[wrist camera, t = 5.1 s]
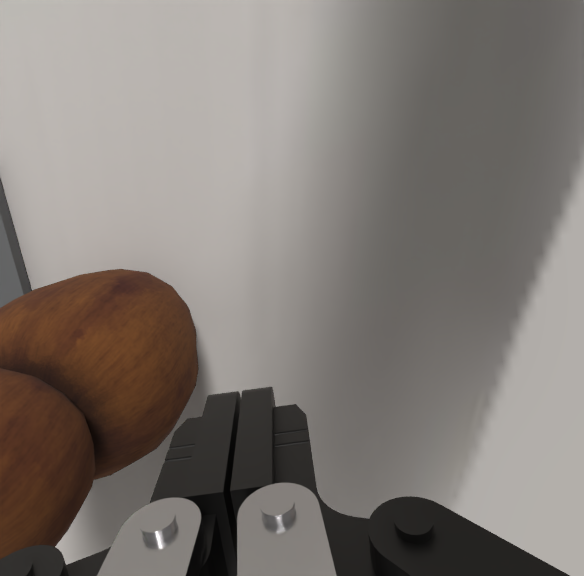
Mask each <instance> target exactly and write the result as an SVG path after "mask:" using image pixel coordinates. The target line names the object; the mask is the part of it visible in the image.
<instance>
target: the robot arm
mask: <svg viewBox="0 0 584 576" xmlns="http://www.w3.org/2000/svg"><path fill="white" fill-rule="evenodd" d="M169 448H170V450H168V453H167V456H166V458H165V463H164V464H163V467H162V470H161V473H160V475H159V478H158V481H157V484H156V487H155V490H154V492H153V495H152V498H151V501H150V504H148V505H146V506H144V507H142V508H140V509H139V510H137V511H136V512H135V513H134V514H132V515H131V516H130V517H129V518H128V519H127V520H126V521H125V523H124V524H123V525H122V527H121V528H120V530H119V532H118V534H117V536H116V538H115V540H114V542H113V544H112V546H111V547H110V548H108V549H106V550H104V551H101V552H99V553H96V554H94V555H91V556H89V557H86V558H83V559H81V560H78V561H76V562H73V563H70V564H68V565H66V564H65V561H64V558H63V555H62V553H61V552H60V551H59V549H57V548H55V547H53V546H49V545H36V546H31V547H26V548H24V549H21V550H18V551H16V552H13V553H11V554H9V555H7V556H5V557H4V558H2V559H0V576H569V575H568V574H566V573H564V572H562V571H560V570H558V569H557V568H555V567H553V566H551V565H549V564H548V563H546V562H544V561H542V560H540V559H538V558H537V557H535V556H533V555H531V554H529V553H527V552H526V551H524V550H522V549H520V548H518V547H517V546H515V545H513V544H511V543H509V542H507V541H506V540H504V539H502V538H500V537H498V536H497V535H495V534H493V533H491V532H489V531H487V530H486V529H484V528H482V527H480V526H478V525H477V524H474V523H473V522H471V521H469V520H467V519H466V518H463V517H462V516H460V515H458V514H456V513H455V512H453V511H451V510H449V509H447V508H446V507H444V506H442V505H440V504H438V503H436V502H434V501H431V500H428V499H425V498H420V497H399V498H395V499H391V500H389V501H387V502H385V503H383V504H381V505H380V506H379V507H378V508H377V509H376V510H375V511H374V512H373V513H372V515H371V517H370V519H366V518H358V517H352V516H347V515H344V514H341V513H339V512H336V511H334V510H333V509H331V508H330V507H328V506H327V505H326V504H325V503H324V502H323V501H322V500H321V498H320V497H319V495H318V492H317V488H316V481H315V474H314V467H313V460H312V453H311V446H310V439H309V432H308V425H307V418H306V414H305V413H304V412H303V411H302V410H301V409H300V408H299V407H298V406H297V405H296V404H294V405H286V406H279V407H276V406H275V400H274V393H273V388H272V387H267V388H259V389H251V390H244V391H242V397H240V394H239V392H238V391H237V392H230V393H222V394H214V395H208V397H207V401H206V404H205V408H204V412H203V416H202V417H197V418H190V419H187V420H186V421H185V422H184V423H183V424H182V425H181V426H180V427H179V428H178V429H177V430H176V432H175V433H174V436H173V438H172V441H171V444H170V447H169Z"/></svg>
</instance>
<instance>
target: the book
mask: <svg viewBox="0 0 584 576" xmlns="http://www.w3.org/2000/svg"><path fill="white" fill-rule="evenodd" d="M29 292H31V287H30V284H29V280H28V276H27V273H26V269H25V266H24V262H23V259H22V255H21V251H20V248H19V244H18V241H17V237H16V234H15V230H14V226H13V223H12V219H11V216H10V212H9V209H8V205H7V201H6V198H5V194H4V191H3V187H2V184H1V180H0V308H1V307H3V306H4V305H6V304H8V303H9V302H11V301H12V300H14V299H16V298H18V297H20V296H22V295H25V294H27V293H29Z"/></svg>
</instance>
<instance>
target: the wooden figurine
mask: <svg viewBox="0 0 584 576" xmlns="http://www.w3.org/2000/svg"><path fill="white" fill-rule="evenodd" d="M197 374H198V360H197V350H196V329H195V326H194V323H193V320H192V317H191V314H190V310H189V308H188V306H187V304H186V303H185V302H184V301H183V300H182V298H181V297H180V296H179V295H178V293H177V292H176V291H175V290H174V288H173V287H172V286H170V285H169V284H167V283H165V282H163V281H162V280H160V279H158V278H156V277H155V276H153V275H151V274H149V273H147V272H139V271H132V270H124V269H117V270H107V271H101V272H95V273H89V274H82V275H79V276H76V277H72V278H69V279H66V280H63V281H60V282H57V283H54V284H51V285H48V286H44V287H41V288H38V289H35V290H33V291H31V292H29V293H27V294H25V295H22V296H20V297H18V298H16V299H14V300H12V301H11V302H9V303H8V304H6V305H4V306H3V307H1V308H0V559H2V558H4V557H5V556H7V555H9V554H11V553H13V552H16V551H18V550H21V549H24V548H26V547H31V546H36V545H49V546H53V547H55V546H56V545H57V544H58V542H59V541H60V540H61V538H62V537H63V536H64V534H65V533H66V532H67V530H68V529H69V527H70V525H71V524H72V522H73V520H74V519H75V517H76V515H77V513H78V512H79V510H80V508H81V506H82V504H83V502H84V501H85V499H86V497H87V495H88V493H89V491H90V489H91V487H92V484H93V480H95V479H98V478H102V477H106V476H109V475H112V474H113V473H115V472H117V471H119V470H121V469H122V468H124V467H126V466H128V465H130V464H131V463H133V462H135V461H137V460H139V459H140V458H142V457H143V456H145V455H147V454H148V453H150V452H152V451H153V450H155V449H156V448H157V447H158V446H159V445H160V444H161V443H162V441H163V440H164V439H165V438H166V437H167V436H168V435H169V433H170V432H171V431H172V430H173V428H174V426H175V424H176V422H177V421H178V419H179V417H180V415H181V413H182V411H183V410H184V408H185V406H186V404H187V402H188V400H189V398H190V396H191V394H192V392H193V390H194V388H195V386H196V380H197Z"/></svg>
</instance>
